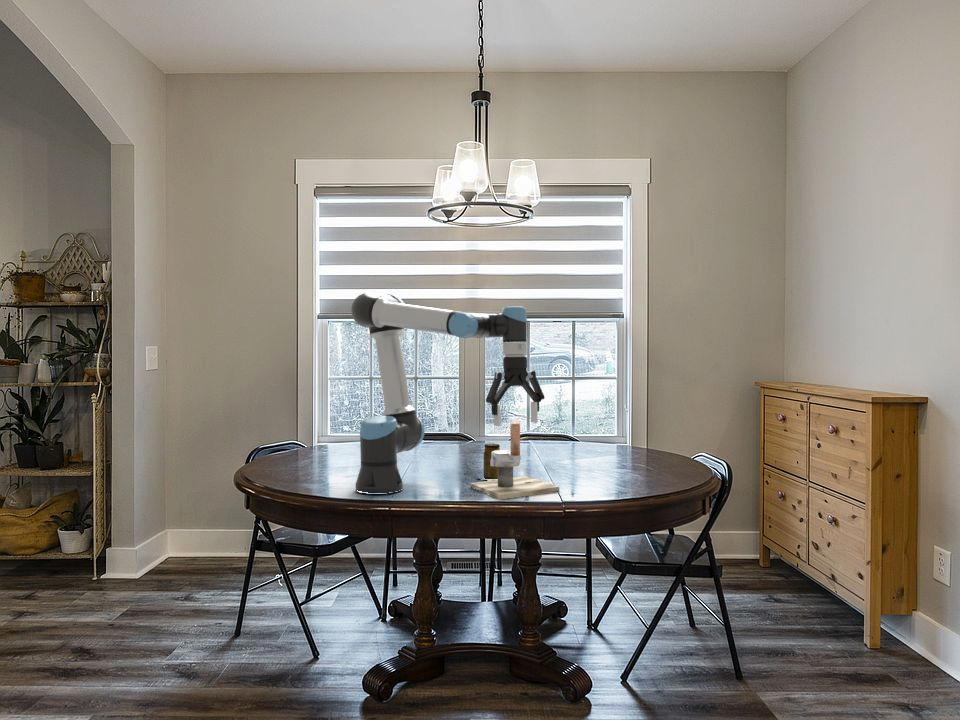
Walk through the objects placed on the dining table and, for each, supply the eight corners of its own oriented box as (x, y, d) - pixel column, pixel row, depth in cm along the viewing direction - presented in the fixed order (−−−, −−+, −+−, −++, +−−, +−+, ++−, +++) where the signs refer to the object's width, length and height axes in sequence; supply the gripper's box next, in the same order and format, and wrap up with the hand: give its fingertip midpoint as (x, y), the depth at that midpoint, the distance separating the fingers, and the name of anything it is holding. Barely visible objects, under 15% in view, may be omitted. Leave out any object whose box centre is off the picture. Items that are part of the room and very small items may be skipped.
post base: (470, 487, 223) (470, 463, 223) (526, 480, 234) (526, 457, 234) (500, 499, 207) (500, 473, 207) (559, 491, 218) (559, 466, 217)
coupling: (484, 463, 221) (484, 420, 220) (511, 460, 226) (511, 418, 225) (503, 470, 210) (503, 424, 210) (531, 466, 215) (531, 422, 215)
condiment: (505, 477, 240) (504, 443, 240) (495, 482, 232) (495, 447, 232) (485, 475, 243) (485, 442, 243) (476, 480, 235) (476, 445, 235)
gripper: (486, 357, 203) (487, 428, 204) (554, 355, 216) (555, 422, 216) (474, 356, 210) (475, 425, 211) (541, 354, 222) (542, 419, 223)
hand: (516, 424), depth 213 cm, fingers open, 13 cm apart
